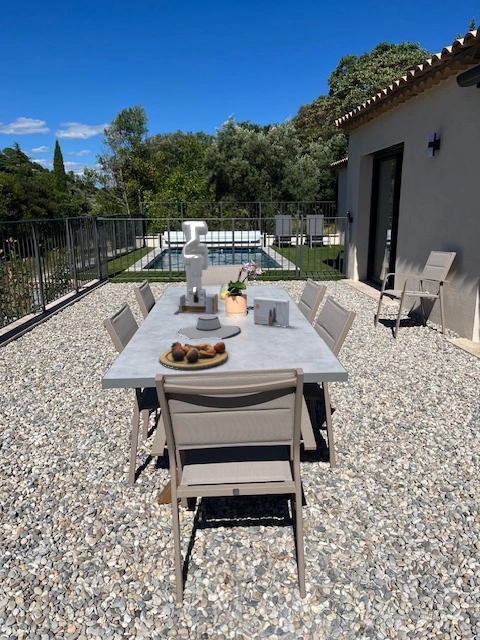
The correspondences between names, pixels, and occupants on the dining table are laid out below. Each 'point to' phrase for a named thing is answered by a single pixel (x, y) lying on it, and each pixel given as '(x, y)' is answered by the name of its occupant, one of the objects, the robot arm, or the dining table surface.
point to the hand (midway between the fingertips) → (197, 301)
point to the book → (209, 303)
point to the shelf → (201, 307)
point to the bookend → (182, 304)
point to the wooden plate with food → (194, 356)
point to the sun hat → (209, 329)
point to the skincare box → (271, 311)
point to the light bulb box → (200, 297)
